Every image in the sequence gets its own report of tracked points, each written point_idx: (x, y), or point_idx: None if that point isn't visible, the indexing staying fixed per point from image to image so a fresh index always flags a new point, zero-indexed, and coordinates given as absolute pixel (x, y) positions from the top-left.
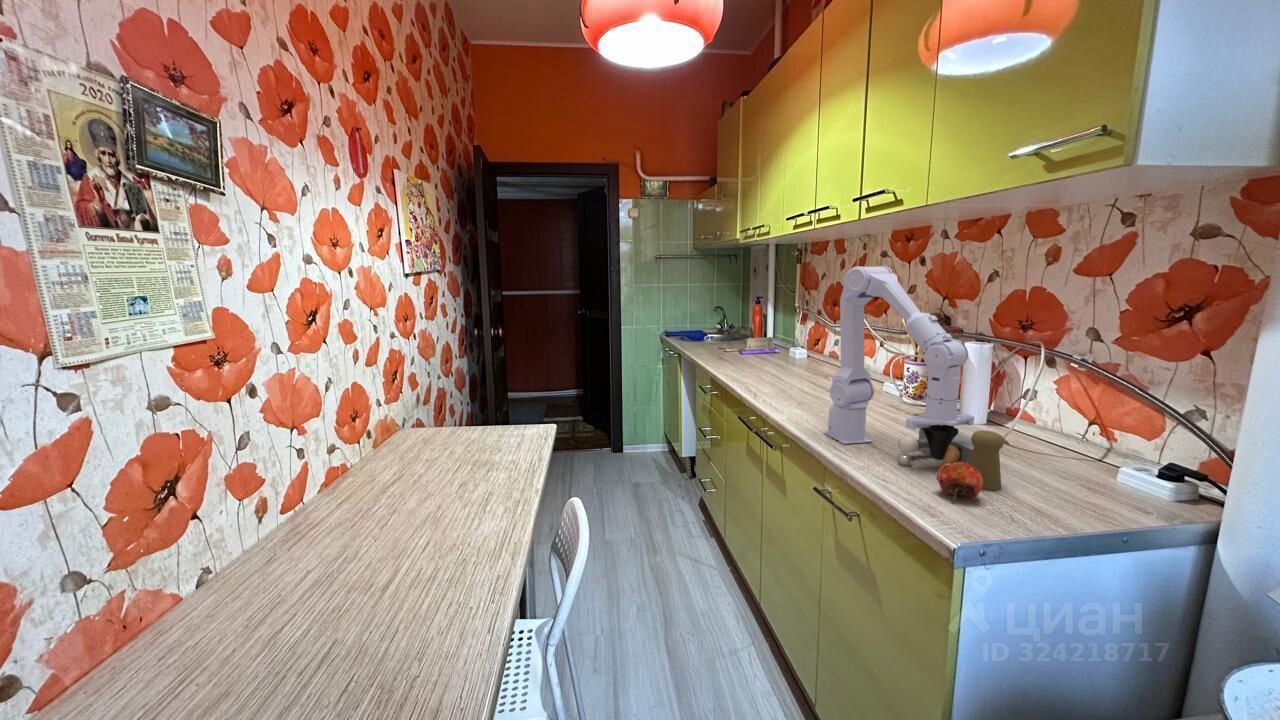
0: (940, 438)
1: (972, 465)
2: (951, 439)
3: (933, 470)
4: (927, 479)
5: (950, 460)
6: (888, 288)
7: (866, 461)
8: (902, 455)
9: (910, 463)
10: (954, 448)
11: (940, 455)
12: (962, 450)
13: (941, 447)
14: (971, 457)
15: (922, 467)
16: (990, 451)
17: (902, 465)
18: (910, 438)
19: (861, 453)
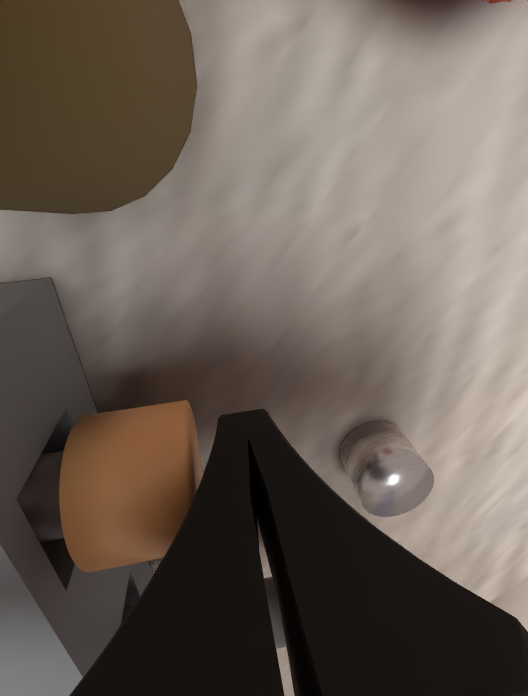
0: (387, 570)
1: (151, 6)
2: (173, 585)
3: (268, 373)
4: (410, 237)
5: (164, 403)
6: None
7: (509, 480)
8: (411, 490)
9: (367, 438)
10: (96, 508)
11: (259, 429)
12: (18, 484)
13: (285, 479)
14: (102, 92)
15: (301, 414)
16: None
17: (400, 432)
18: None
19: (454, 554)
